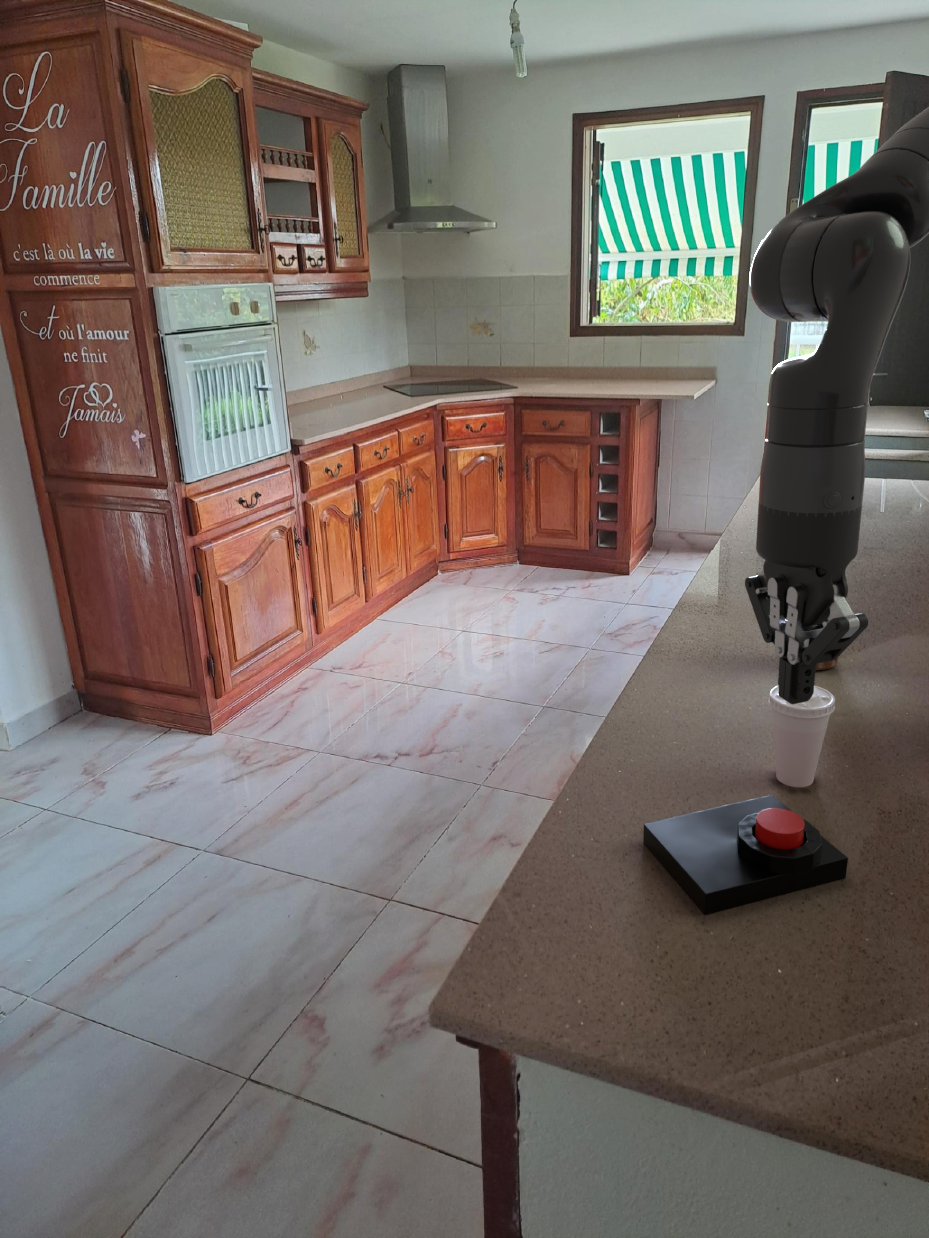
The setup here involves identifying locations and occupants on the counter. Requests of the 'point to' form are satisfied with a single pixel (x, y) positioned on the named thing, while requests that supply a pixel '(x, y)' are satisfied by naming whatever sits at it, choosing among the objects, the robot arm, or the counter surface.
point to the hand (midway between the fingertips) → (794, 698)
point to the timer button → (779, 828)
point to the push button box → (738, 856)
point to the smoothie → (799, 735)
